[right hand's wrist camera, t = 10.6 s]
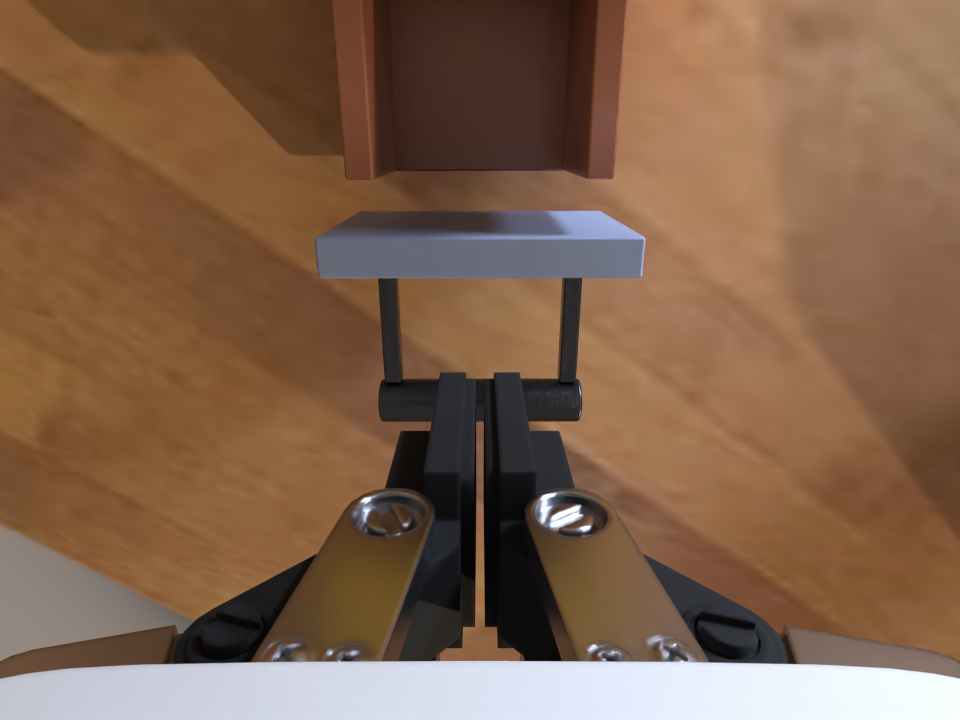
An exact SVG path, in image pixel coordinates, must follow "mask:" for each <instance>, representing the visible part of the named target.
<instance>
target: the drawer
mask: <svg viewBox="0 0 960 720" xmlns="http://www.w3.org/2000/svg"><path fill="white" fill-rule="evenodd" d="M331 5H332V17H333V30H334V42H335V54H336V67H337V79H338V92H339V104H340V116H341V129H342V141H343V154H344V166H345V177H346V179H348V180H372V179H375V178H377V177H380V176H383V175H386V174H388V173H391V172H394V171H567V172H570V173H573V174H575V175H578V176H581V177H584V178H586V179H613V178H614V175H615V161H616V148H617V135H618V122H619V109H620V96H621V83H622V70H623V57H624V44H625V31H626V18H627V5H628V0H331ZM315 248H316V258H317V268H318V276H319V278H378V283H379V298H380V313H381V329H382V344H383V359H384V375H385V379H383V380H382V381H381V384H380V388H379V414H380V418H381V420H382V421H384V422H432V419H433V413H434V407H435V401H436V395H437V389H438V384H439V379H402V378H403V366H402V347H401V328H400V309H399V290H398V278H562V297H561V317H560V338H559V358H558V379H521V384H522V389H523V395H524V401H525V407H526V413H527V419H528V421H579V420H580V417H581V413H582V389H581V384H580V381H579V380H578V379H576V369H577V353H578V337H579V320H580V304H581V288H582V278H640V277H641V276H642V269H643V259H644V248H645V238H644V237H643V236H641V235H639V234H638V233H636V232H634V231H633V230H631V229H629V228H628V227H626V226H624V225H623V224H621V223H619V222H617V221H616V220H614V219H612V218H611V217H609V216H607V215H606V214H604V213H602V212H601V211H361V212H359V213H357V214H355V215H354V216H352V217H350V218H349V219H347V220H345V221H344V222H342V223H340V224H339V225H337V226H335V227H334V228H332V229H330V230H328V231H327V232H325V233H323V234H322V235H320V236H318V237H317V238H315ZM476 422H484V379H476Z"/></svg>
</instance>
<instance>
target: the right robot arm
mask: <svg viewBox="0 0 960 720" xmlns="http://www.w3.org/2000/svg"><path fill="white" fill-rule="evenodd" d="M475 572H476V379H466V373H440V378H439V384H438V389H437V395H436V401H435V407H434V413H433V419H432V425H431V430H430V431H401V433H400V436H399V439H398V443H397V447H396V450H395V454H394V458H393V461H392V465H391V469H390V472H389V476H388V480H387V483H386V487H385V489H380V490H375V491H372V492H369V493H366V494H364V495H362V496H360V497H358V498H357V499H355V500H354V501H352V502H351V503H350V504H349V505H348V507H347V508H346V509H345V510H344V512H343V513H342V515H341V516H340V518H339V520H338V521H337V523H336V525H335V526H334V528H333V529H332V531H331V533H330V534H329V536H328V537H327V539H326V541H325V542H324V544H323V546H322V547H321V549H320V550H319V552H318V554H316V555H314V556H312V557H310V558H308V559H306V560H305V561H303V562H301V563H299V564H297V565H295V566H293V567H291V568H289V569H288V570H286V571H284V572H282V573H280V574H278V575H276V576H274V577H272V578H271V579H269V580H267V581H265V582H263V583H261V584H259V585H257V586H255V587H253V588H252V589H250V590H248V591H246V592H244V593H242V594H240V595H238V596H236V597H235V598H233V599H231V600H229V601H227V602H225V603H223V604H221V605H219V606H218V607H216V608H214V609H212V610H210V611H209V612H207V613H206V614H204V615H203V616H201V617H200V618H198V619H197V620H195V621H194V622H193V623H192V624H191V625H190V626H189V627H188V628H187V629H186V630H185V631H184V633H182V634H178V633H177V628H176V625H173V626H167V627H161V628H155V629H150V630H144V631H138V632H132V633H127V634H121V635H115V636H109V637H104V638H98V639H92V640H86V641H80V642H74V643H69V644H63V645H57V646H51V647H46V648H40V649H34V650H30V651H27V652H23V653H20V654H16V655H13V656H10V657H8V658H6V659H4V660H2V661H0V720H960V661H958V660H956V659H954V658H952V657H950V656H947V655H944V654H940V653H937V652H933V651H930V650H926V649H920V648H914V647H909V646H903V645H897V644H891V643H886V642H880V641H874V640H868V639H862V638H857V637H851V636H845V635H839V634H834V633H828V632H822V631H816V630H810V629H805V628H799V627H793V626H787V625H784V628H783V633H782V634H778V633H776V631H775V630H774V629H773V628H772V627H771V626H770V625H769V624H768V623H767V622H766V621H765V620H763V619H762V618H760V617H759V616H757V615H756V614H754V613H753V612H751V611H750V610H748V609H746V608H744V607H742V606H741V605H739V604H737V603H735V602H733V601H731V600H729V599H727V598H725V597H724V596H722V595H720V594H718V593H716V592H714V591H712V590H710V589H708V588H707V587H705V586H703V585H701V584H699V583H697V582H695V581H693V580H691V579H689V578H688V577H686V576H684V575H682V574H680V573H678V572H676V571H674V570H672V569H671V568H669V567H667V566H665V565H663V564H661V563H659V562H657V561H655V560H654V559H652V558H650V557H648V556H646V555H644V554H642V552H641V550H640V549H639V547H638V546H637V544H636V542H635V541H634V539H633V537H632V536H631V534H630V533H629V531H628V529H627V528H626V526H625V525H624V523H623V521H622V520H621V518H620V516H619V515H618V513H617V512H616V510H615V509H614V508H613V507H612V505H611V504H610V503H609V502H608V501H606V500H605V499H603V498H602V497H600V496H598V495H596V494H594V493H591V492H588V491H585V490H580V489H575V487H574V483H573V480H572V476H571V472H570V469H569V465H568V461H567V458H566V454H565V450H564V447H563V443H562V439H561V436H560V433H559V431H530V430H529V425H528V419H527V413H526V407H525V401H524V395H523V389H522V384H521V378H520V373H494V379H484V572H485V627H497V637H498V648H514V649H515V650H517V651H518V652H519V653H520V661H440V653H441V652H442V651H443V650H445V649H446V648H462V637H463V627H475Z"/></svg>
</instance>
